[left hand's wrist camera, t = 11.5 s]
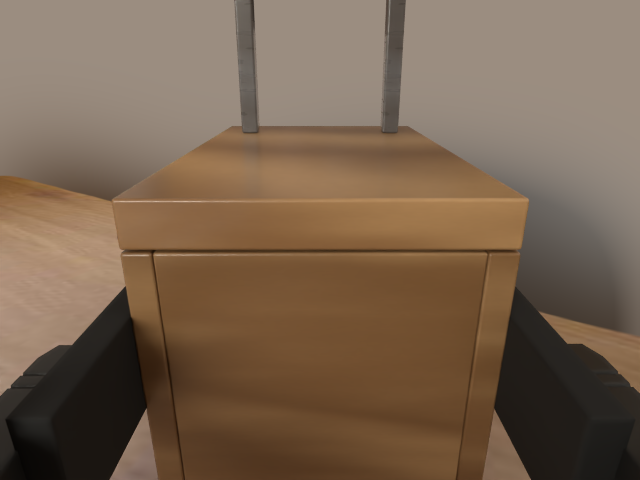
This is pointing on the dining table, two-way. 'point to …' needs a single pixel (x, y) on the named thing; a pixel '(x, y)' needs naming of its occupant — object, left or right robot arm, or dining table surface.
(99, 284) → the dining table surface
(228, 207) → the lid
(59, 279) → the dining table surface
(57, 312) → the dining table surface
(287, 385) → the chest
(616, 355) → the dining table surface
